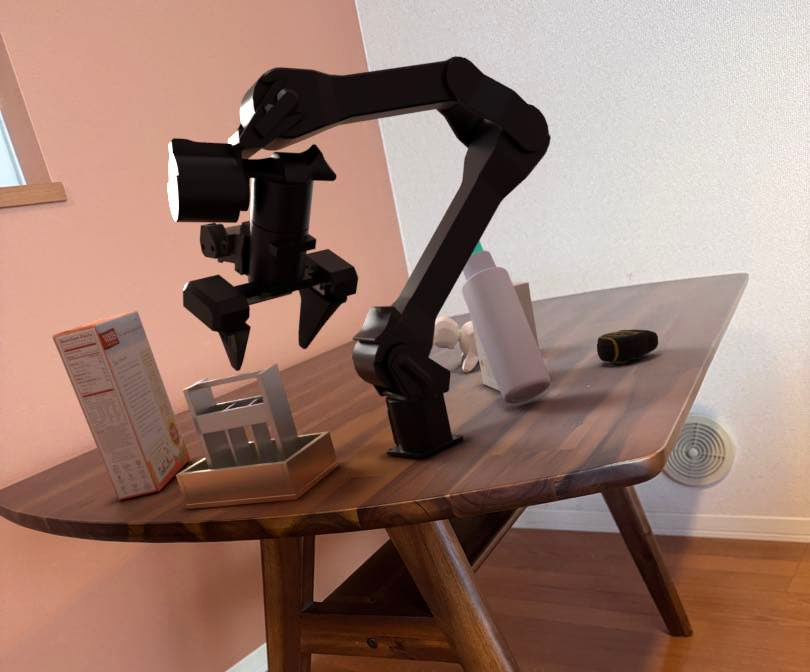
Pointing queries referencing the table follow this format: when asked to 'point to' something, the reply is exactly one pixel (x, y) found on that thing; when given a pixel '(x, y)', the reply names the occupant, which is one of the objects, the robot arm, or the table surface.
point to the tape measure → (626, 345)
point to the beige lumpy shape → (450, 334)
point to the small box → (526, 304)
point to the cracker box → (124, 402)
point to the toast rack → (243, 421)
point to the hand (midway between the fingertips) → (270, 357)
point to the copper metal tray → (260, 476)
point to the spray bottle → (503, 329)
